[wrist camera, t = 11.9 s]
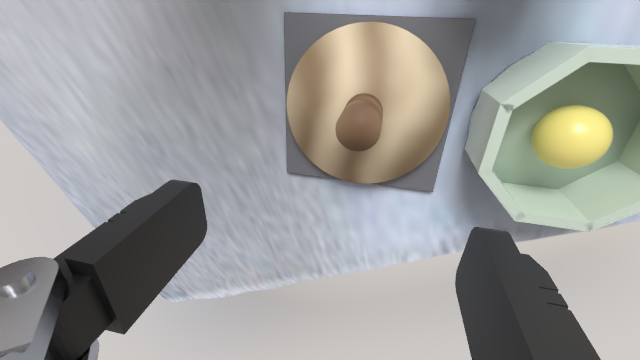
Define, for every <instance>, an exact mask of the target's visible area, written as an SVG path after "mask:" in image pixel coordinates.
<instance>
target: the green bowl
mask: <svg viewBox="0 0 640 360" xmlns="http://www.w3.org/2000/svg"><path fill="white" fill-rule="evenodd" d="M570 105H582V106H587V107H591V108H594V109H596V110H598V111H599V112H601V113H603V114H604V115H605V116H606V117H607V118H608V120H609V121H610V123H611V125H612V129H613V140H612V143H611V145H610V147H609V149H608V151H607V152H606V153H605V154H604V155H603V156H602V157H601V158H600V159H598V160H597V161H595V162H593V163H592V164H589V165H587V166H584V167H580V168H574V169H562V168H557V167H553V166H551V165H548V164H546V163H544V162H543V161H542V160H540V159H539V158H538V157H537V155H536V154H535V153H534V151H533V149H532V146H531V134H532V131H533V129H534V127H535V125H536V123H537V122H538V121H539V120H540V119H541V118H542V117H543V116H544V115H546V114H547V113H549V112H551V111H552V110H555V109H557V108H560V107H564V106H570ZM465 151H466V152H467V154H468V156H469V158H470V160H471V161H472V163H473V165H474V167H475V169H476V170H477V172H478V174H479V175H480V177H481V178H482V179H483V180H484V182H485V183H486V184H487V186H488V187H489V188H490V190H491V191H492V192H493V193H494V195H495V196H496V197H497V199H498V200H499V201H500V203H501V204H502V205H503V206H504V208H505V209H506V210H507V212H508V213H509V214H510V216H511V217H512V218H513V220H514V221H517V222H524V223H531V224H538V225H545V226H552V227H559V228H566V229H573V230H580V231H587V232H591V231H593V230H596V229H598V228H601V227H603V226H606V225H608V224H611V223H614V222H616V221H619V220H621V219H624V218H626V217H629V216H631V215H634V214H636V213H639V212H640V46H635V45H617V44H595V43H574V42H552V41H550V42H549V43H547V44H546V45H544V46H543V47H541V48H540V49H538V50H537V51H536V52H533V53H531V54H529V55H527V56H525V57H523V58H521V59H519V60H518V61H516V62H515V63H513V64H511V65H510V66H509V67H507V68H506V69H505V70H503V71H502V72H501V73H500V74H499V75H498V76H497V77H496V78H495V79H494V80H492V82H491V83H489V84H488V85H487V86H485V87H484V88H482V89H481V93H480V96H479V99H478V101H477V103H476V105H475V107H474V109H473V112H472V115H471V117H470V122H469V127H468V138H467V142H466V145H465Z"/></svg>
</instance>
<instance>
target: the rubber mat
mask: <svg viewBox="0 0 640 360" xmlns="http://www.w3.org/2000/svg"><path fill="white" fill-rule="evenodd" d="M475 20H476V19H459V18H431V17H404V16H376V15H348V14H320V13H292V12H284V37H285V87H286V137H287V172H288V173H296V174H303V175H311V176H318V177H325V178H333V179H339V178H337V177H334V176H332V175H330V174H328V173H326V172H325V171H323V170H321V169H320V168H319V167H317V166H316V165H315V164H314V163H313V162H312V161H311V160H310V159H308V157H307V156H306V155H305V154H304V153H303V151H302V150H301V148H300V147H299V145H298V144H297V142H296V140H295V138H294V136H293V134H292V131H291V128H290V125H289V120H288V115H287V94H288V88H289V83H290V80H291V77H292V74H293V72H294V70H295V68H296V65H297V64H298V62H299V61H300V59H301V57H302V56H303V55H304V54H305V52H306V51H307V50H308V49H309V48H310V47H311V46H312V45H313V44H314V43H315V42H316V41H317V40H318V39H320V38H321V37H323V36H324V35H326V34H327V33H329V32H331V31H333V30H335V29H337V28H340V27H343V26H345V25H348V24H353V23H359V22H381V23H387V24H391V25H395V26H398V27H400V28H402V29H405V30H407V31H409V32H410V33H412V34H414V35H415V36H417V37H418V38H419V39H421V40H422V41H423V42H424V43H425V44H426V45H427V46H428V47H429V48H430V49H431V50H432V51H433V53H434V54H435V55H436V57H437V58H438V60H439V62H440V63H441V65H442V67H443V70H444V72H445V74H446V77H447V81H448V85H449V92H450V111H449V117H448V122H447V125H446V128H445V131H444V133H443V135H442V137H441V140H440V141H439V143H438V144H437V146H436V148H435V149H434V150H433V152H432V153H431V154H430V155H429V156H428V158H426V159H425V160H424V161H423V162H422V163H421V164H420V165H419V166H417V167H416V168H415V169H413V170H412V171H410V172H408V173H406V174H405V175H403V176H400V177H398V178H395V179H392V180H389V181H385V182H379V183H370V184H378V185H385V186H393V187H400V188H408V189H415V190H423V191H430V192H433V189H434V185H435V181H436V177H437V173H438V169H439V164H440V160H441V156H442V152H443V148H444V144H445V140H446V136H447V132H448V128H449V124H450V120H451V116H452V112H453V108H454V104H455V100H456V96H457V92H458V88H459V84H460V80H461V76H462V72H463V68H464V64H465V60H466V56H467V52H468V48H469V44H470V40H471V36H472V32H473V28H474V24H475ZM340 180H342V179H340Z"/></svg>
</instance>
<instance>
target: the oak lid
mask: <svg viewBox="0 0 640 360" xmlns="http://www.w3.org/2000/svg"><path fill="white" fill-rule="evenodd" d="M449 111H450V92H449V85H448V81H447V77H446V74H445V72H444V70H443V67H442V65H441V63H440V62H439V60H438V58H437V57H436V55H435V54H434V53H433V51H432V50H431V49H430V48H429V47H428V46H427V45H426V44H425V43H424V42H423V41H422V40H421V39H419V38H418V37H417V36H415V35H414V34H412V33H410V32H409V31H407V30H405V29H402V28H400V27H398V26H395V25H391V24H387V23H381V22H359V23H353V24H348V25H345V26H343V27H340V28H337V29H335V30H333V31H331V32H329V33H327V34H326V35H324V36H323V37H321V38H320V39H318V40H317V41H316V42H315V43H314V44H313V45H312V46H311V47H310V48H309V49H308V50H307V51H306V52H305V54H304V55H303V56H302V57H301V59H300V61H299V62H298V64H297V65H296V68H295V70H294V72H293V74H292V77H291V80H290V83H289V88H288V94H287V115H288V120H289V125H290V128H291V131H292V134H293V136H294V138H295V140H296V142H297V144H298V145H299V147H300V148H301V150H302V151H303V153H304V154H305V155H306V156H307V157H308V159H310V160H311V161H312V162H313V163H314V164H315V165H316V166H317V167H319V168H320V169H321V170H323V171H325V172H326V173H328V174H330V175H332V176H334V177H337V178H339V179H342V180H345V181H349V182H355V183H379V182H385V181H389V180H392V179H395V178H398V177H400V176H403V175H405V174H406V173H408V172H410V171H412V170H413V169H415V168H416V167H417V166H419V165H420V164H421V163H422V162H423V161H424V160H425V159H426V158H428V156H429V155H430V154H431V153H432V152H433V150H434V149H435V148H436V146H437V144H438V143H439V141H440V140H441V137H442V135H443V133H444V131H445V128H446V125H447V122H448V117H449Z"/></svg>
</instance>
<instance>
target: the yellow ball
mask: <svg viewBox="0 0 640 360" xmlns="http://www.w3.org/2000/svg"><path fill="white" fill-rule="evenodd" d="M612 140H613V129H612V125H611V123H610V121H609V120H608V118H607V117H606V116H605V115H604V114H603V113H601V112H599V111H598V110H596V109H594V108H591V107H587V106H582V105H570V106H564V107H560V108H557V109H555V110H552V111H551V112H549V113H547V114H546V115H544V116H543V117H542V118H541V119H540V120H539V121H538V122H537V123H536V125H535V127H534V129H533V131H532V134H531V146H532V149H533V151H534V153H535V154H536V155H537V157H538V158H539V159H540V160H542V161H543V162H544V163H546V164H548V165H551V166H553V167H557V168H562V169H574V168H580V167H584V166H587V165H589V164H592V163H593V162H595V161H597V160H598V159H600V158H601V157H602V156H603V155H604V154H605V153H606V152H607V151H608V149H609V147H610V145H611V143H612Z"/></svg>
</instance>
